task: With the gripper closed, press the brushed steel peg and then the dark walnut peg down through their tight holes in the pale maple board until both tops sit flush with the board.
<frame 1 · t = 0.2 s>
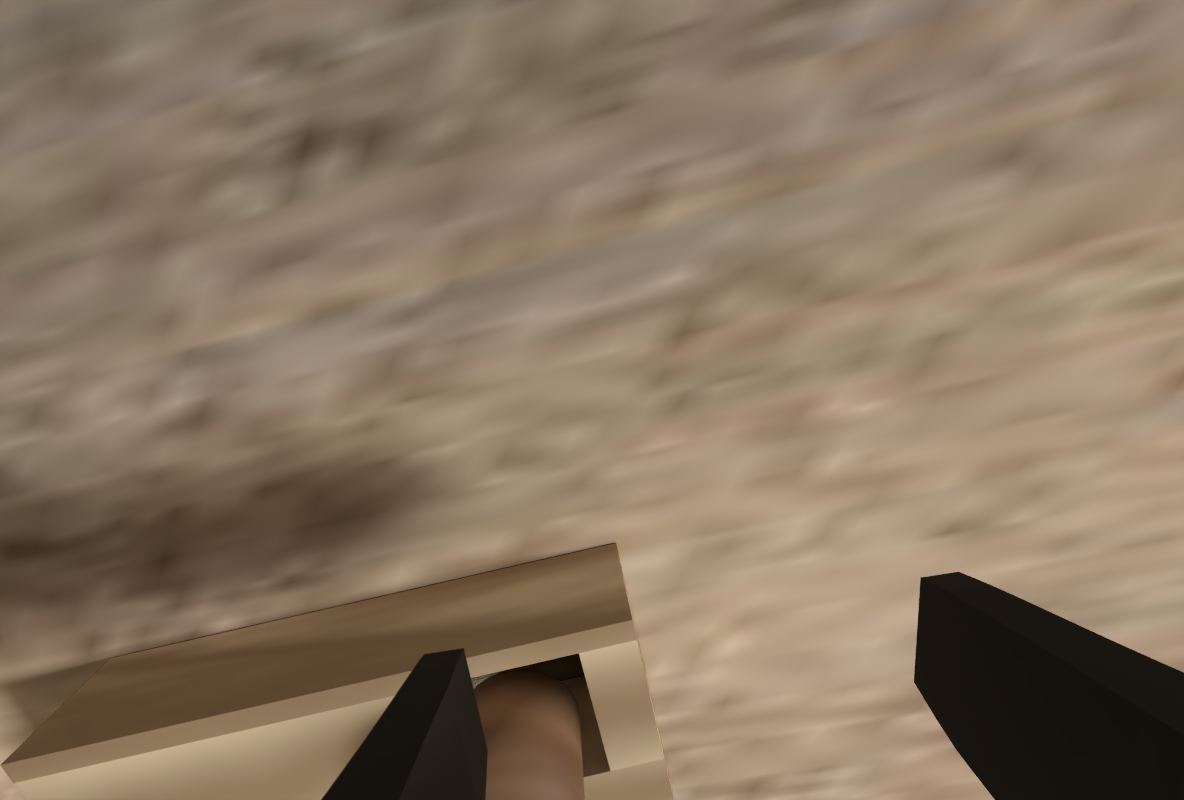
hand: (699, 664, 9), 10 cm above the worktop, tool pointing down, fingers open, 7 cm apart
maple board: (428, 758, 21), on the worktop
walnut peg: (517, 771, 15), point 5 cm above the worktop, slide at 0.0 cm
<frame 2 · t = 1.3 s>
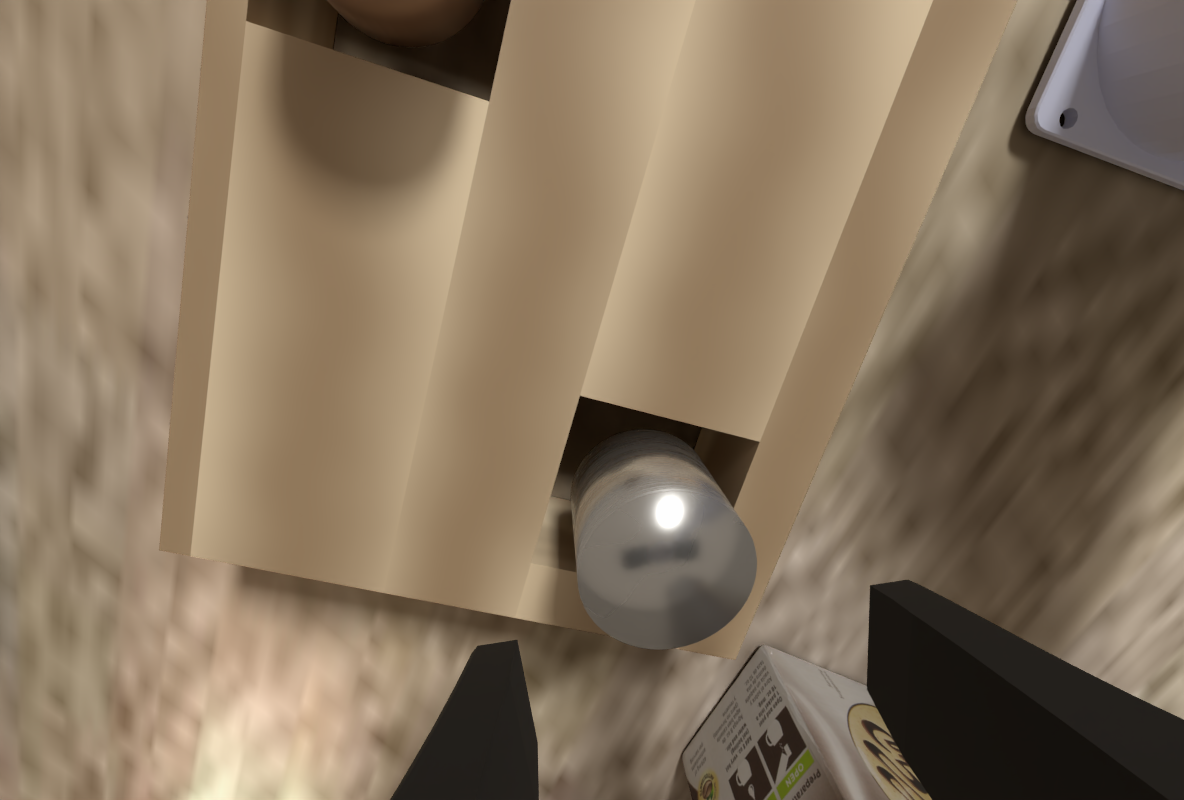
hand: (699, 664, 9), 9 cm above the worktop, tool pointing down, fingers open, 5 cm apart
maple board: (557, 259, 16), on the worktop
coffee box: (810, 732, 22), on the worktop
steel peg: (652, 529, 13), point 5 cm above the worktop, slide at 0.0 cm
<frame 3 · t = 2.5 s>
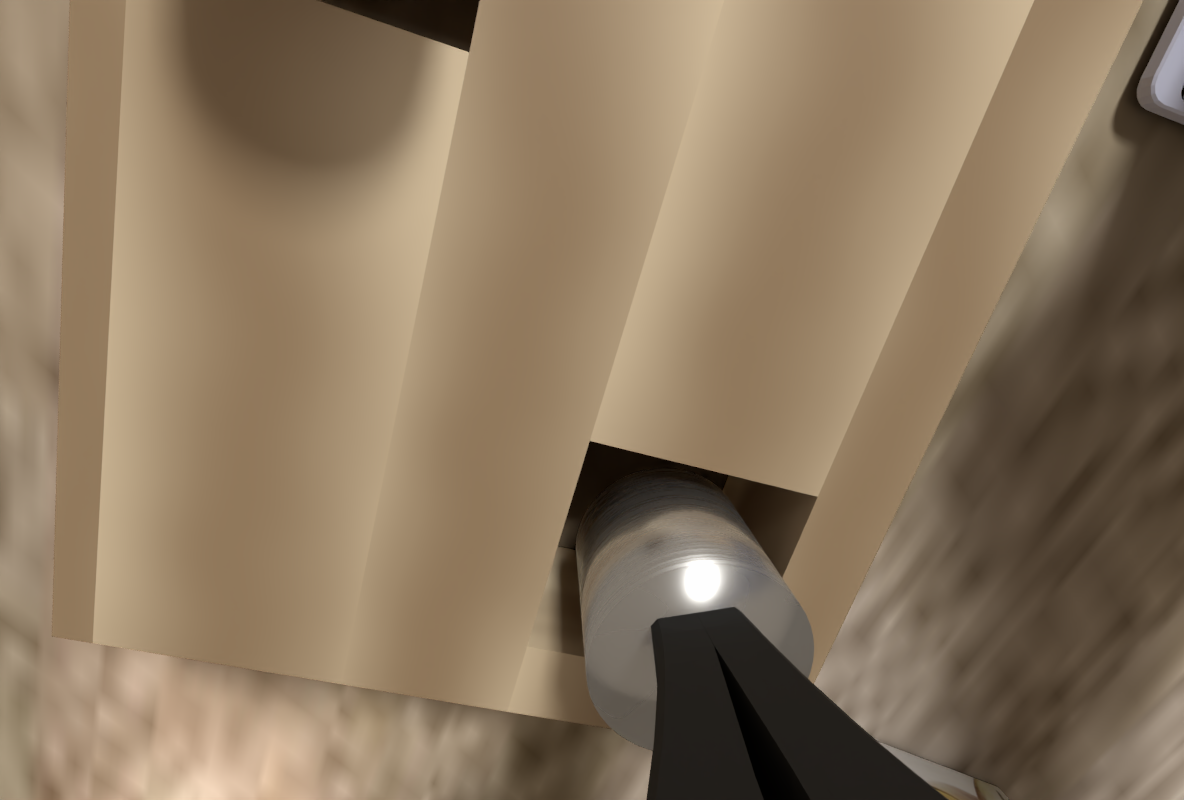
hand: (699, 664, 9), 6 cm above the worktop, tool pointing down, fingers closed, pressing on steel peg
maple board: (560, 263, 13), on the worktop
steel peg: (676, 595, 10), point 5 cm above the worktop, slide at 0.6 cm, touching gripper
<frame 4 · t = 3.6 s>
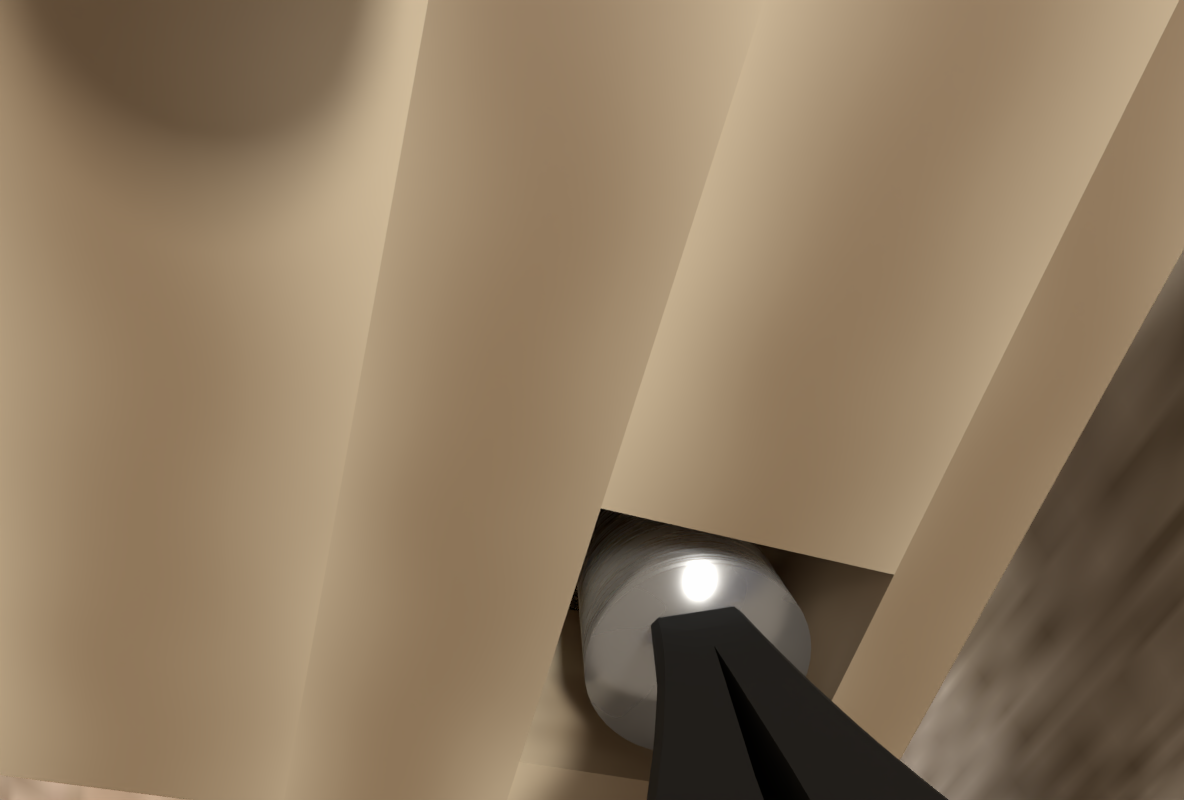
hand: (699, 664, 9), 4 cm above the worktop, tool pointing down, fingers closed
maple board: (561, 271, 10), on the worktop
steel peg: (674, 594, 10), point 2 cm above the worktop, slide at 3.1 cm
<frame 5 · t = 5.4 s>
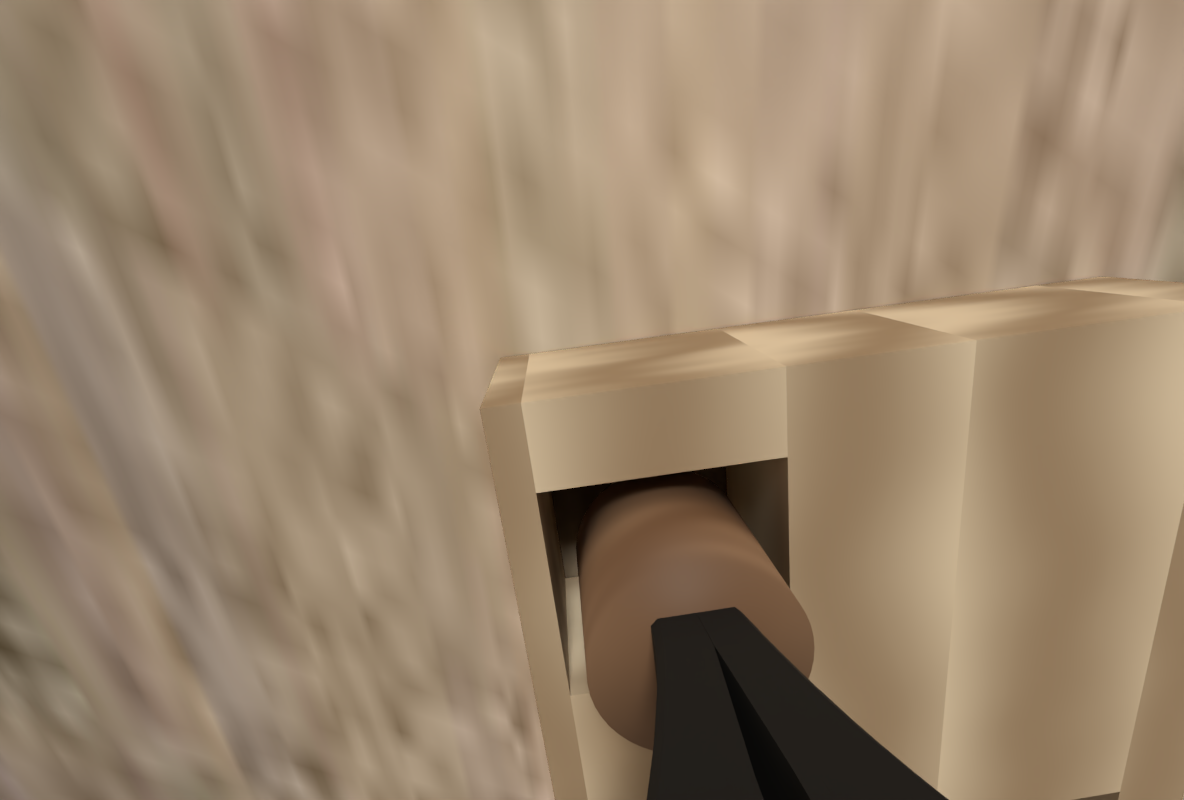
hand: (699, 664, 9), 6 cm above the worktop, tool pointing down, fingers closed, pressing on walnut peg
maple board: (808, 622, 16), on the worktop
walnut peg: (676, 595, 10), point 4 cm above the worktop, slide at 0.9 cm, touching gripper
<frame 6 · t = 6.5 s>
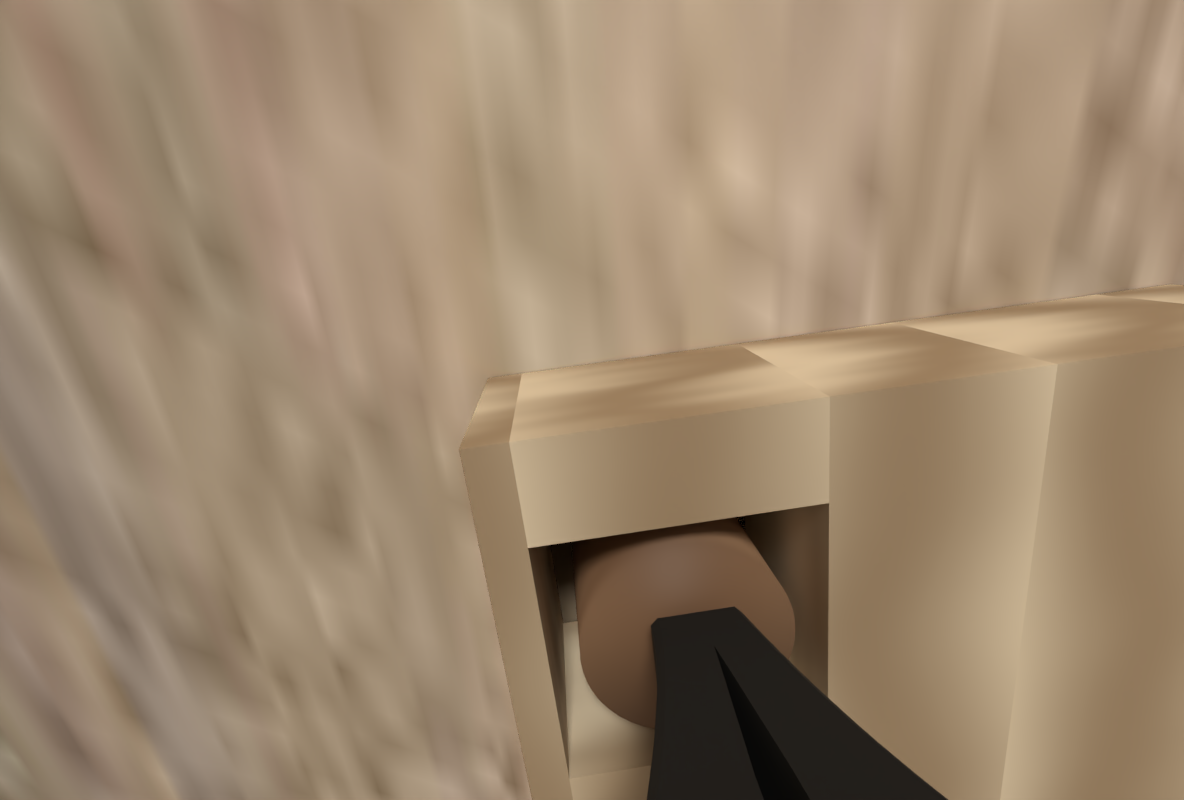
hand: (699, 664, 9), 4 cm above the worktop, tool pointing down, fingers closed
maple board: (834, 668, 14), on the worktop
walnut peg: (666, 580, 11), point 2 cm above the worktop, slide at 3.1 cm
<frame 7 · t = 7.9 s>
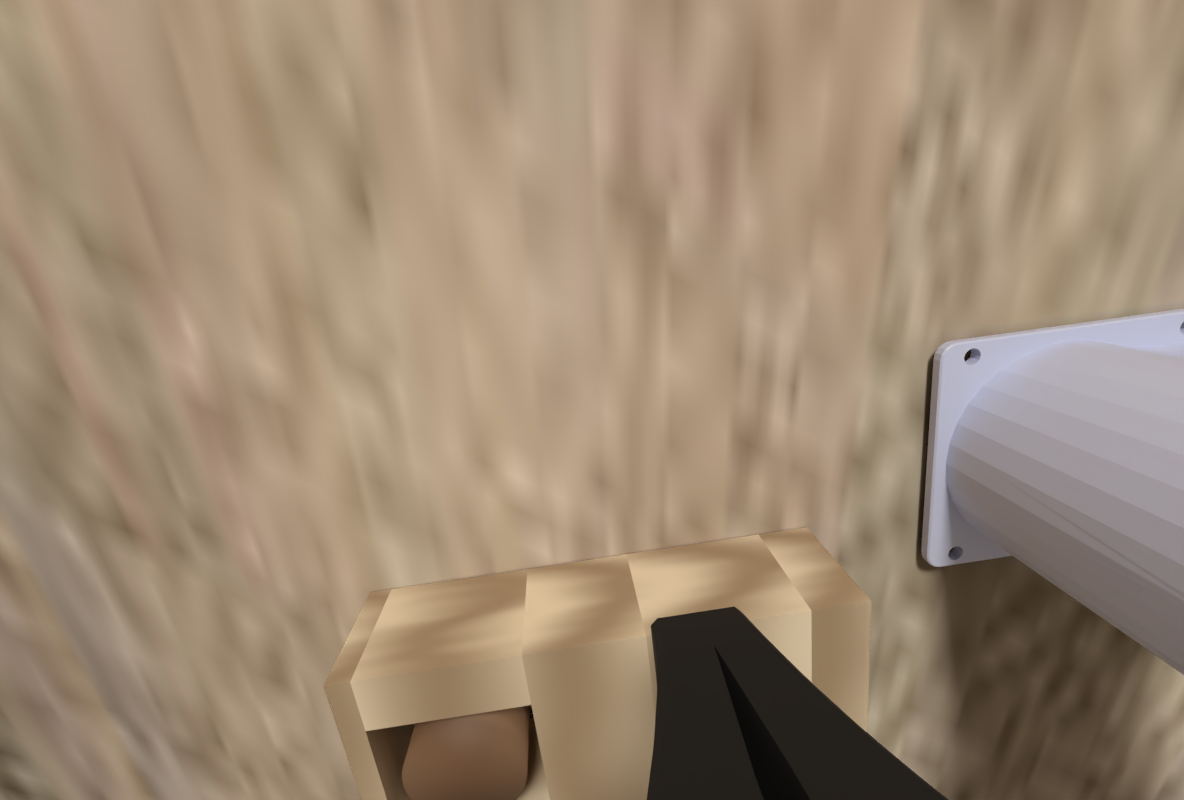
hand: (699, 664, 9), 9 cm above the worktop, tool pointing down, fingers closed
maple board: (619, 759, 21), on the worktop
walnut peg: (473, 724, 18), point 2 cm above the worktop, slide at 3.1 cm
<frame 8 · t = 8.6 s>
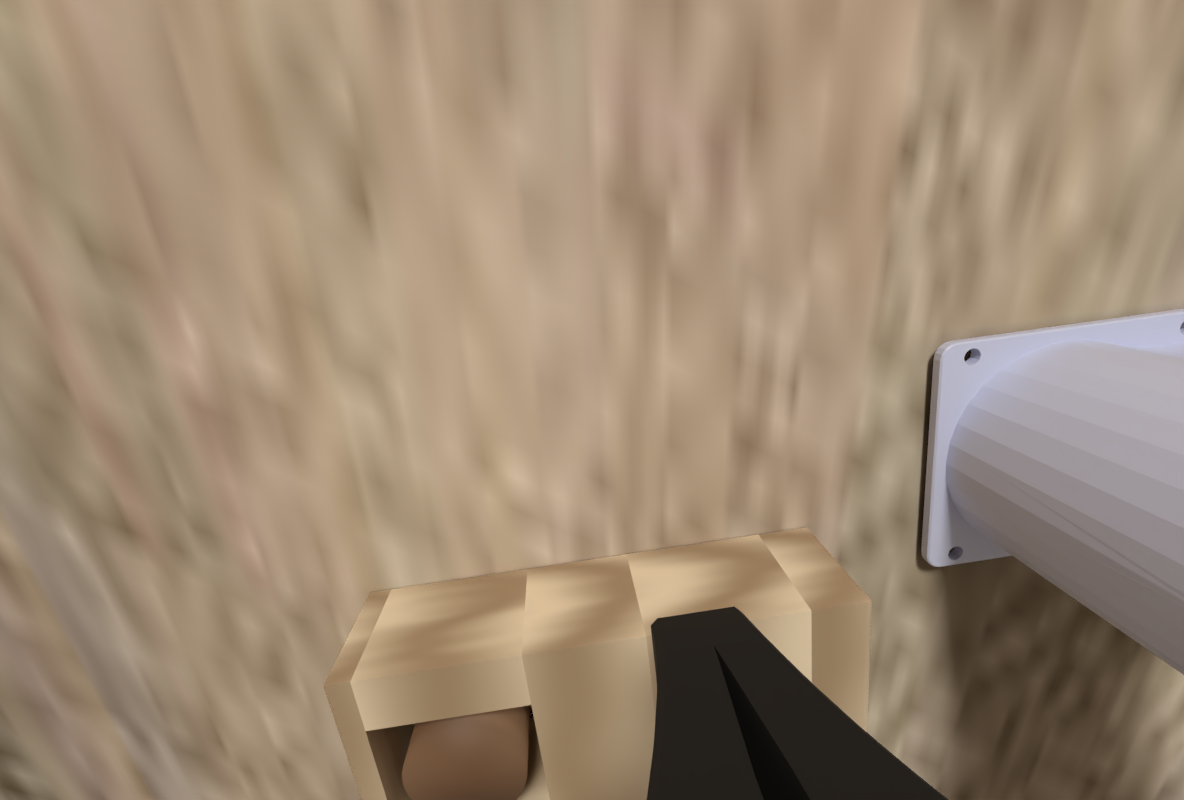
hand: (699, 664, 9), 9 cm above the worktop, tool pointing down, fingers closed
maple board: (619, 759, 21), on the worktop
walnut peg: (473, 724, 18), point 2 cm above the worktop, slide at 3.1 cm
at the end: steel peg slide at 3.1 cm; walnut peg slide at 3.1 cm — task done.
